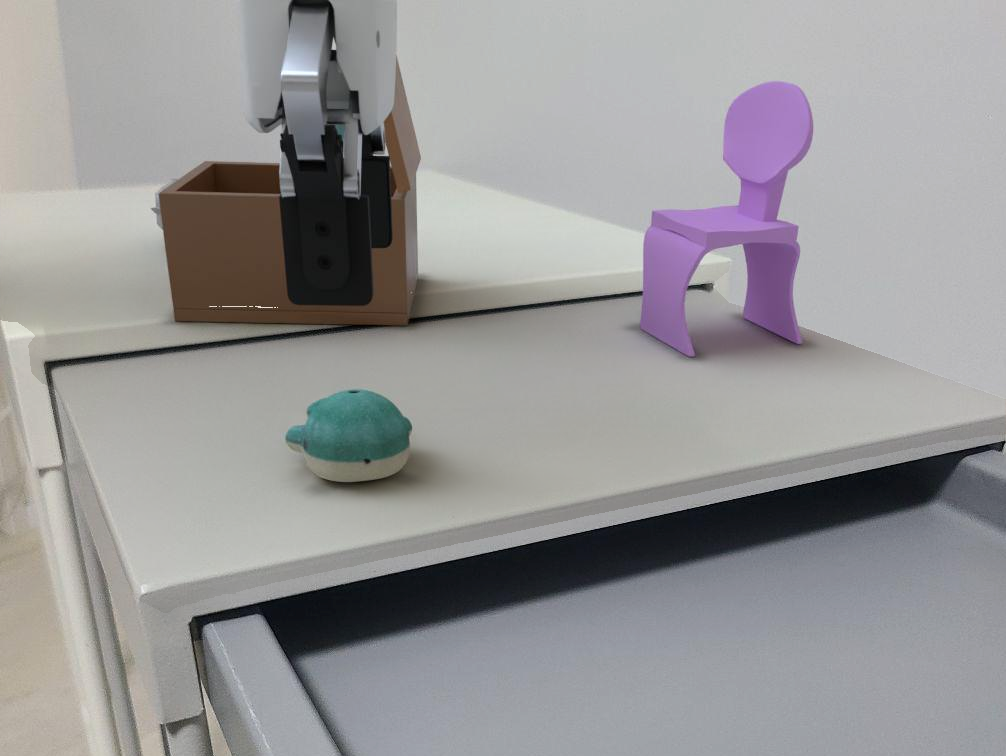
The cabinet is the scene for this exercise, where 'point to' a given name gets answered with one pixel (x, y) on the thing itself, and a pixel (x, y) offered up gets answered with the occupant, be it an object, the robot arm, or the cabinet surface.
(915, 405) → the cabinet surface
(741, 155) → the toy chair
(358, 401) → the whale figurine
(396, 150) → the lid
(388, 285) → the brown open rectangular box
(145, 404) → the cabinet surface
